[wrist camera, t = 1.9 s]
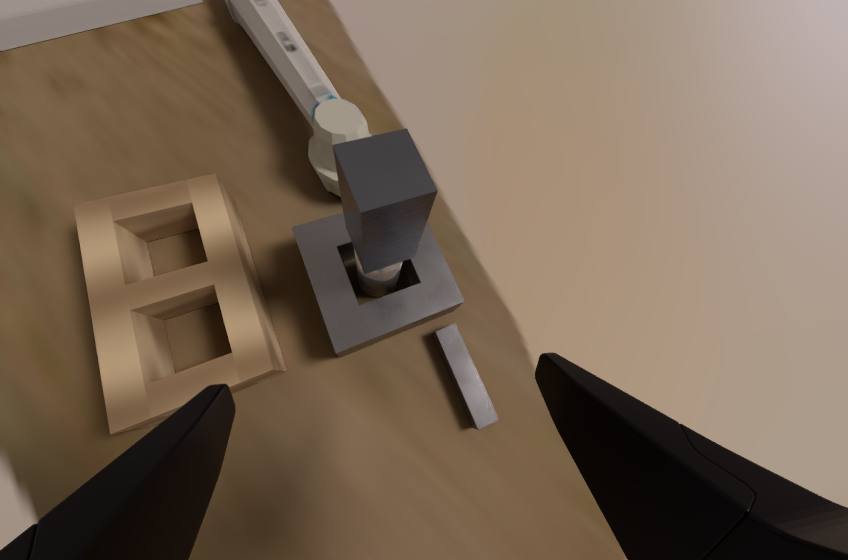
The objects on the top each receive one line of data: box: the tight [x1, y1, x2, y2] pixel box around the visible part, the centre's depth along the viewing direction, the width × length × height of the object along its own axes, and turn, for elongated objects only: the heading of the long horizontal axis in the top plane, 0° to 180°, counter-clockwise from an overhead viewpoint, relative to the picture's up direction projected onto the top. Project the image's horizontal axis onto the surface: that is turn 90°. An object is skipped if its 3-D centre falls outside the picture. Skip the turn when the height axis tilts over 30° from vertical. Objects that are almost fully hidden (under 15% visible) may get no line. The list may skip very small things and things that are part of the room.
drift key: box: [433, 324, 499, 430], centre depth 22 cm, size 7×2×1 cm, turn 23°
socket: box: [292, 213, 465, 357], centre depth 22 cm, size 9×9×3 cm
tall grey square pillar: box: [332, 129, 437, 297], centre depth 17 cm, size 3×3×13 cm
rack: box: [74, 174, 287, 434], centre depth 20 cm, size 14×8×3 cm, turn 23°
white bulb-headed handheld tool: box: [225, 0, 372, 197], centre depth 26 cm, size 5×7×25 cm
